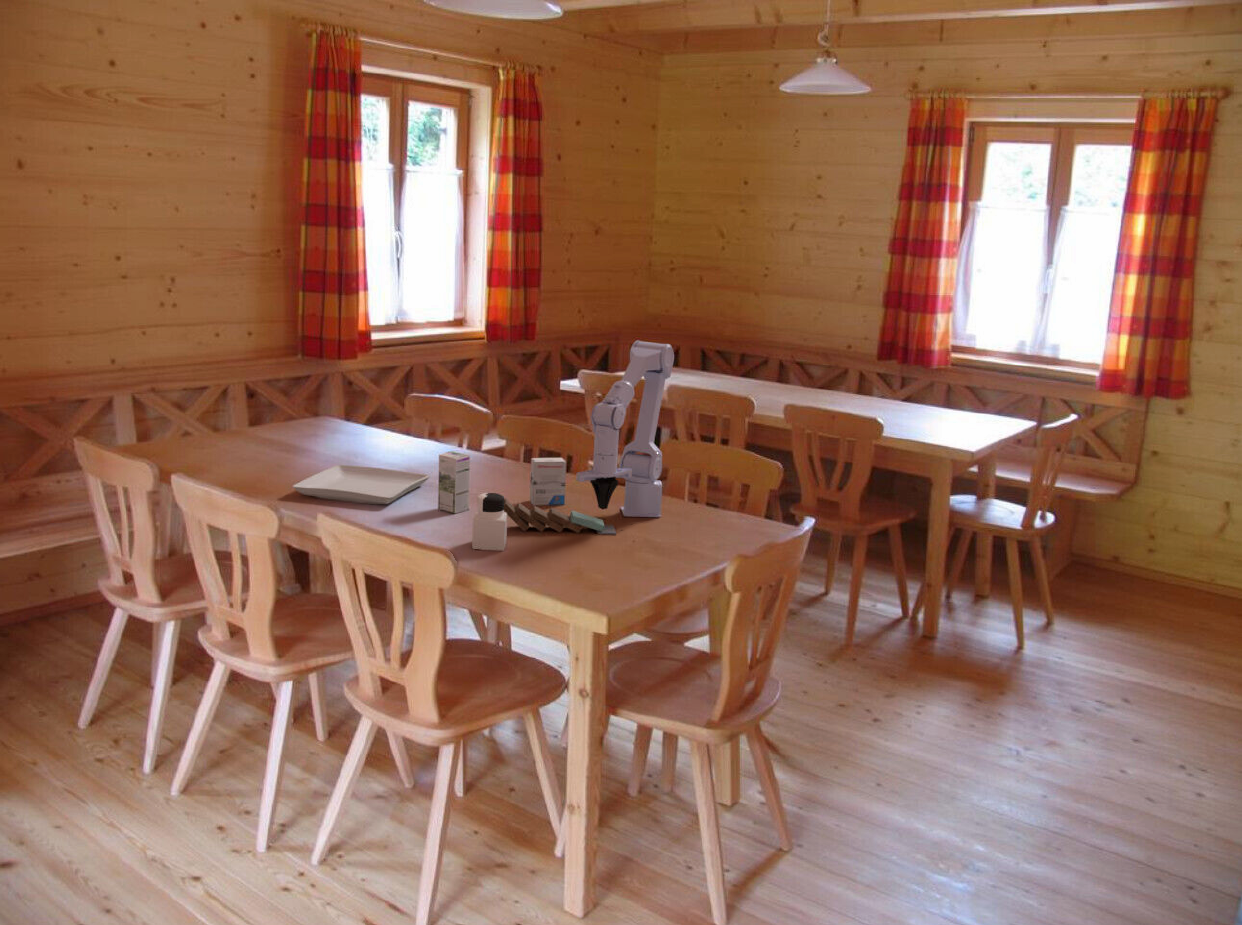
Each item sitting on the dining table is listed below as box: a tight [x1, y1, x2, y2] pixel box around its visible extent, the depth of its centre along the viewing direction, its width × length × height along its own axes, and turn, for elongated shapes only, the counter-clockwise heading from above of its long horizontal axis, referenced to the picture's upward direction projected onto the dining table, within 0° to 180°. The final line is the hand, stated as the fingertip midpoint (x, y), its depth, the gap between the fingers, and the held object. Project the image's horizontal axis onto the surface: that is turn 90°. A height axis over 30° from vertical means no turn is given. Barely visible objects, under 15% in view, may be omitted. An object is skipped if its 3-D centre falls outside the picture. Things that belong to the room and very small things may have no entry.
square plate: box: [291, 464, 431, 505], centre depth 287 cm, size 27×27×4 cm
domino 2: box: [514, 502, 547, 533], centre depth 262 cm, size 2×5×8 cm
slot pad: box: [596, 524, 617, 536], centre depth 265 cm, size 4×7×1 cm, turn 7°
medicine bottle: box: [471, 492, 508, 552], centre depth 247 cm, size 7×7×12 cm
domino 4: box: [547, 507, 582, 534], centre depth 264 cm, size 2×5×8 cm
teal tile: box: [569, 510, 606, 532], centre depth 264 cm, size 2×5×8 cm
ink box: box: [529, 457, 567, 506], centre depth 286 cm, size 9×5×12 cm, turn 105°
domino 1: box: [504, 498, 530, 532], centre depth 262 cm, size 2×5×8 cm
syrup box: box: [437, 451, 471, 514], centre depth 274 cm, size 6×6×14 cm
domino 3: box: [530, 505, 565, 533], centre depth 263 cm, size 2×5×8 cm
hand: (602, 508), depth 264 cm, fingers closed
